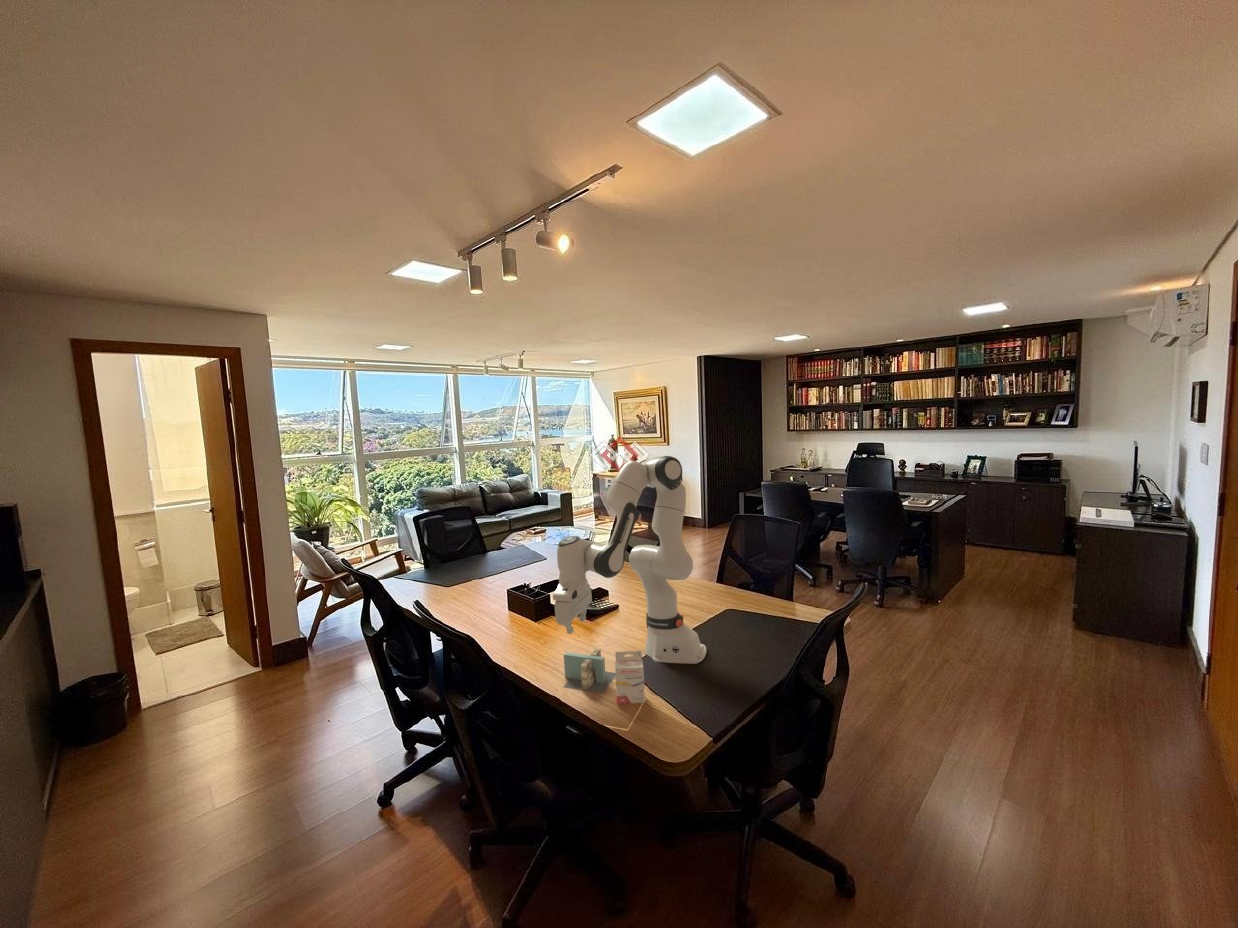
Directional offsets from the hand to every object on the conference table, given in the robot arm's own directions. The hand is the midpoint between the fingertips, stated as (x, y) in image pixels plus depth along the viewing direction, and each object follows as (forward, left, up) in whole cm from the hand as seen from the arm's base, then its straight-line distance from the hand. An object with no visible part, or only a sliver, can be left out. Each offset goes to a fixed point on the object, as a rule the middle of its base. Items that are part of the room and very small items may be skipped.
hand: (576, 626), depth 164 cm
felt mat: (-4, 0, -18) cm, 19 cm away
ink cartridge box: (-21, +7, -18) cm, 29 cm away
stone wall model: (-5, 0, -18) cm, 18 cm away
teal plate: (-2, 0, -18) cm, 18 cm away
